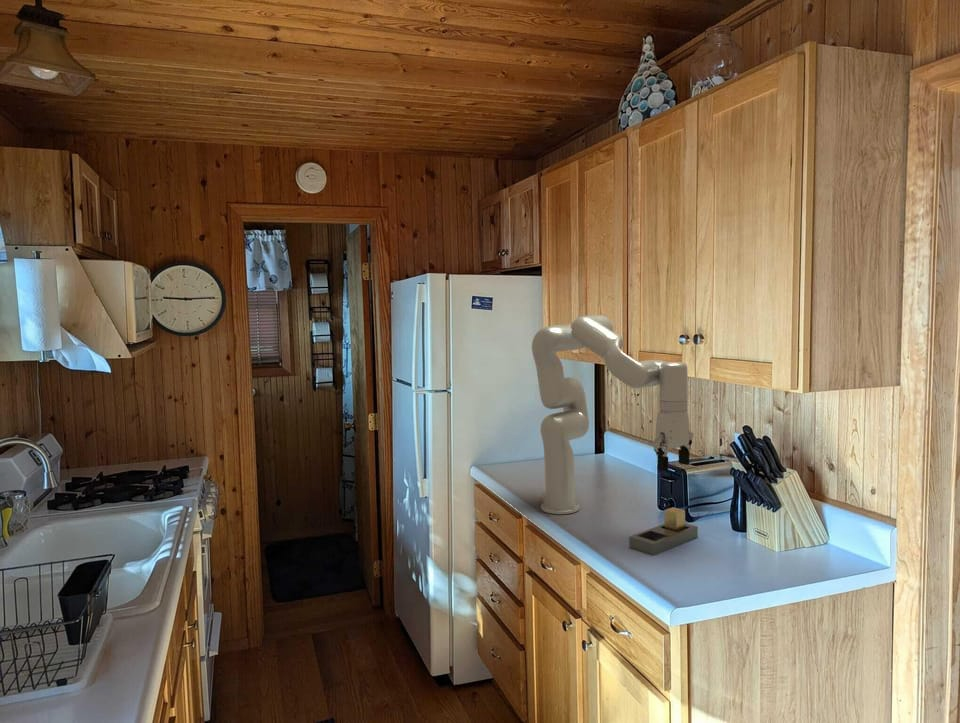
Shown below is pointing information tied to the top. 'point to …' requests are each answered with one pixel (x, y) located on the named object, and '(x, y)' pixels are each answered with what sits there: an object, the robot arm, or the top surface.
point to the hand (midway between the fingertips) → (673, 467)
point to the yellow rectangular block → (674, 519)
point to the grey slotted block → (661, 539)
